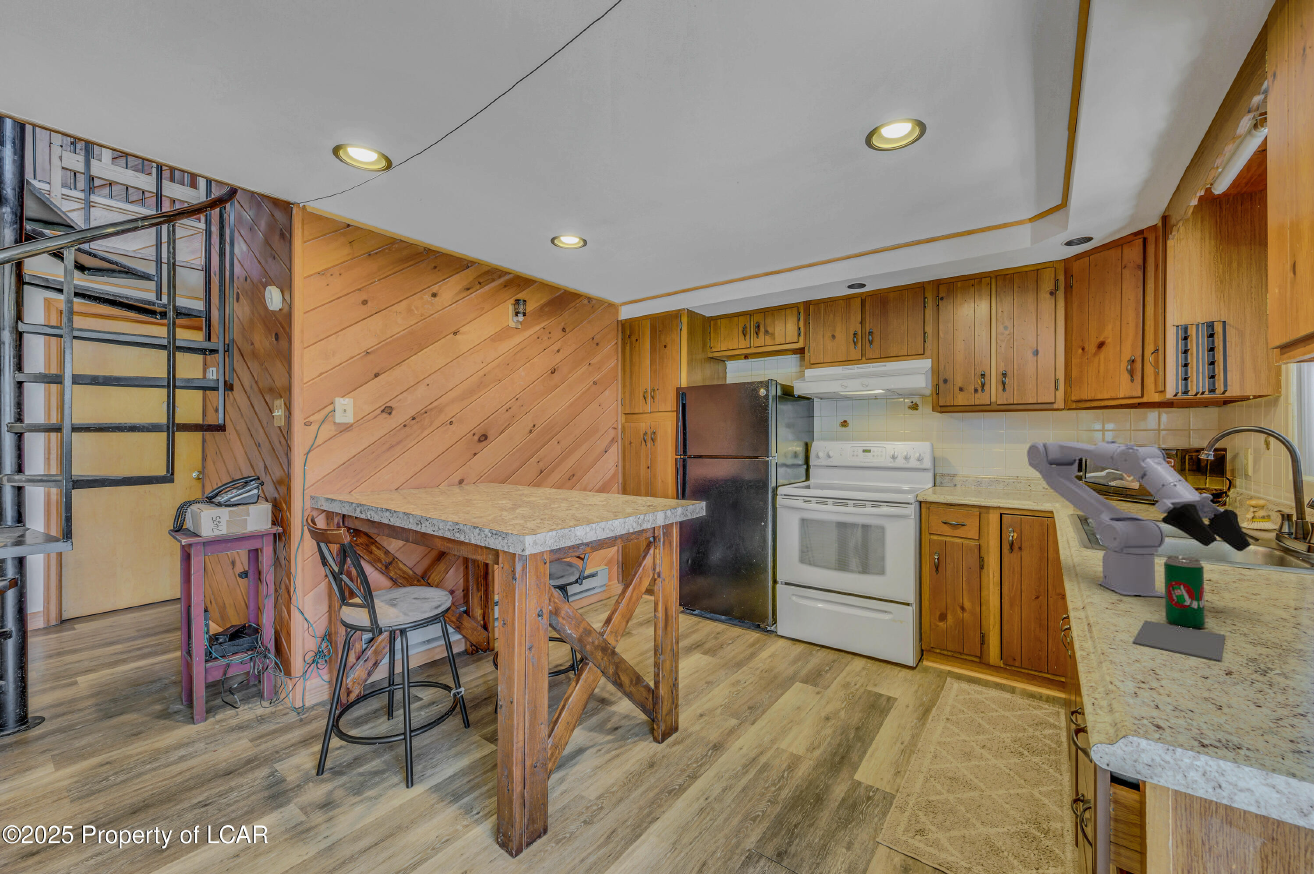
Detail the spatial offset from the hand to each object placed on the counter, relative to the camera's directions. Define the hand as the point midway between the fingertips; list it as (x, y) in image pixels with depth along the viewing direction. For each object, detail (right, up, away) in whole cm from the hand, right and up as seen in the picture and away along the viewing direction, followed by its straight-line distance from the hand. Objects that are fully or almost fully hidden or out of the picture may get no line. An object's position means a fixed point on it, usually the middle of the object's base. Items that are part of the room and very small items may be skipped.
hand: (1227, 545), depth 96 cm
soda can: (-9, -14, -1) cm, 17 cm away
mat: (-17, -14, -8) cm, 23 cm away
